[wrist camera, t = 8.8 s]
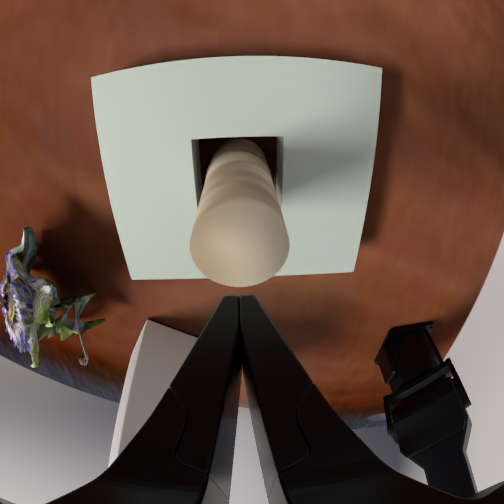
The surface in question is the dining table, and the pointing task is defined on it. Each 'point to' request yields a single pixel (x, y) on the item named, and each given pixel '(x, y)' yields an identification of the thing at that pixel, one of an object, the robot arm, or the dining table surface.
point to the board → (238, 125)
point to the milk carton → (148, 379)
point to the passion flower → (37, 303)
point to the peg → (239, 218)
